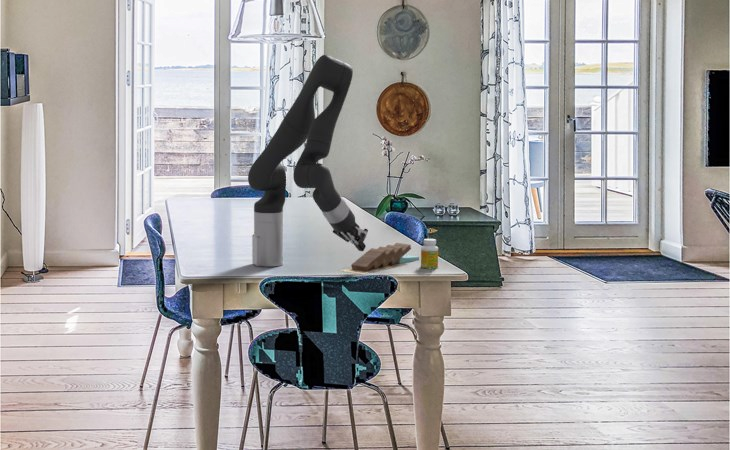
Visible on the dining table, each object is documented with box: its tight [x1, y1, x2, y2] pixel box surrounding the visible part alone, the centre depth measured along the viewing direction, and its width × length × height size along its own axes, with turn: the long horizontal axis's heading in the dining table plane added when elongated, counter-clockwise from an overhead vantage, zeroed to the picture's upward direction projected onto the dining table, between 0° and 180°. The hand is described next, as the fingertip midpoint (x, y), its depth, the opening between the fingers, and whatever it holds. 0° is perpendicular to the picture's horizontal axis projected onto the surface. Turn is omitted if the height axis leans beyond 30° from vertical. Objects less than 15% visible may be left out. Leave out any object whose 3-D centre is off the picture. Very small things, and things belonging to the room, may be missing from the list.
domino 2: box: [370, 246, 395, 269], centre depth 269 cm, size 2×6×11 cm
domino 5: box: [396, 254, 420, 264], centre depth 280 cm, size 2×6×11 cm
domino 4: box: [388, 242, 412, 265], centre depth 276 cm, size 2×6×11 cm
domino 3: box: [379, 244, 403, 268], centre depth 273 cm, size 2×6×11 cm
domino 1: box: [351, 248, 387, 272], centre depth 266 cm, size 2×6×11 cm
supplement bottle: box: [420, 238, 439, 270], centre depth 269 cm, size 5×5×10 cm
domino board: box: [338, 263, 406, 275], centre depth 268 cm, size 24×9×1 cm, turn 142°
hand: (362, 248), depth 263 cm, fingers closed
